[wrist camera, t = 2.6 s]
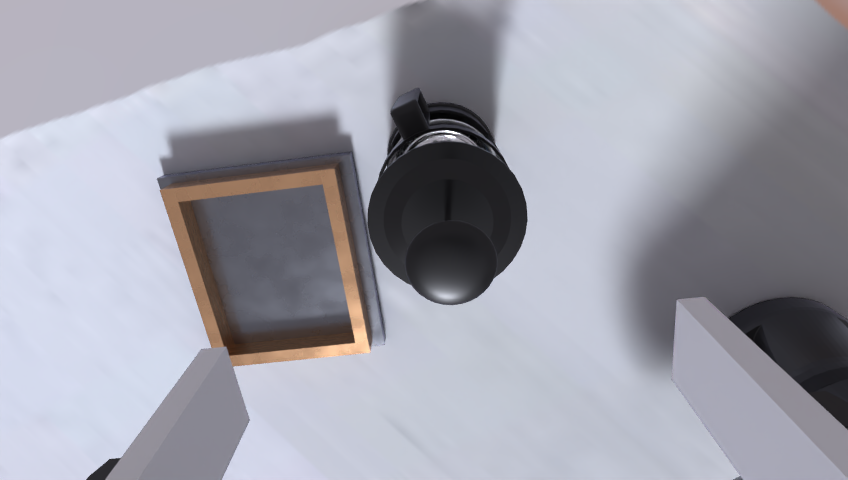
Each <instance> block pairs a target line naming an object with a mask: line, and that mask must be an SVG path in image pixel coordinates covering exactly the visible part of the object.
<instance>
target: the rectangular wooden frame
mask: <svg viewBox="0 0 848 480" xmlns="http://www.w3.org/2000/svg"><path fill="white" fill-rule="evenodd" d="M157 180H158V183H159V186H160V189H161V190H160V192H161V195H162V198H163V201H164V204H165V207H166V210H167V214H168V217H169V220H170V223H171V226H172V229H173V232H174V235H175V238H176V241H177V244H178V247H179V250H180V253H181V256H182V259H183V262H184V265H185V268H186V271H187V274H188V277H189V280H190V283H191V287H192V290H193V293H194V296H195V299H196V302H197V305H198V308H199V311H200V314H201V317H202V320H203V323H204V326H205V329H206V332H207V335H208V338H209V341H210V344H211V347H212V348H218V347H227V350H228V353H229V357H230V360H231V363H232V366H242V365H252V364H262V363H272V362H281V361H291V360H301V359H311V358H321V357H331V356H341V355H351V354H361V353H370V351H371V346H379V345H385V333H384V327H383V322H382V316H381V311H380V305H379V299H378V294H377V288H376V283H375V277H374V272H373V266H372V261H371V255H370V249H369V244H368V238H367V233H366V227H365V222H364V216H363V211H362V205H361V199H360V194H359V188H358V183H357V177H356V172H355V166H354V160H353V155H352V152H346V153H338V154H330V155H322V156H314V157H306V158H298V159H290V160H282V161H274V162H265V163H257V164H249V165H241V166H233V167H225V168H217V169H209V170H201V171H193V172H185V173H177V174H169V175H163V176H161V177H159V178H157Z"/></svg>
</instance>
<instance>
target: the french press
mask: <svg viewBox="0 0 848 480" xmlns="http://www.w3.org/2000/svg"><path fill="white" fill-rule="evenodd" d="M391 116H392V118H393V120H394V122H395V124H396V126H397V127H396V128H395V130H394V132H393V134H392V136H391V139H390V142H389V146H388V152H387V158H386V160H385V162H384V164H383V167H382V169H381V171H380V174H379V178H378V181H377V183H376V186H375V188H374V190H373V192H372V194H371V198H370V203H369V207H368V229H369V234H370V239H371V242H372V244H373V246H374V249H375V251H376V253H377V255H378V256H379V258H380V259H381V261H382V262H383V264H384V265H385V266H386V267H387V268H388V269H389V270H390V271H391V272H392V273H393V274H394V275H396V276H397V277H399V278H400V279H401V280H403V281H404V282H406V283H408V284H410V285H412V286H413V288H414V289H415V290H416V291H417V292H418V293H419V294H420V295H422V296H423V297H425V298H426V299H428V300H430V301H433V302H435V303H439V304H443V305H456V304H462V303H466V302H469V301H471V300H473V299H475V298H477V297H478V296H479V295H481V294H482V293H483V292H484V291H485V290H486V289H487V288H488V287H489V286H490V284H491V282H492V281H493V279H494V278H495V277H496V276H497V275H499V274H500V273H501V272H503V271H504V270H505V268H506V267H507V266H508V265H509V264H510V263H511V262H512V261H513V259H514V257H515V256H516V254H517V252H518V251H519V249H520V247H521V245H522V242H523V239H524V236H525V233H526V226H527V206H526V201H525V197H524V194H523V191H522V188H521V186H520V184H519V183H518V181H517V179H516V177H515V175H514V174H513V173H512V172H511V170H510V169H509V167H508V165H507V164H506V162H505V160H504V158H503V156H502V155H501V153H500V151H499V150H498V148H497V147H496V145H495V143H494V141H493V137H492V135H491V133H490V131H489V129H488V127H487V126H486V125H485V123H484V122H483V121H482V120H481V119H480V117H478V116H477V115H476V114H475V113H473V112H472V111H471V110H469V109H467V108H465V107H463V106H460V105H456V104H452V103H442V102H439V103H432V104H426V101H425V99H424V97H423V95H422V92H421V90H420V89H419V88H416V89H414V90H412V91H410V92H408V93H406V94H404V95H402V96H400V97H399V98H398V99H397V101H396V103H395V104H394V106H393V108H392V109H391ZM435 119H437V120H435ZM386 166H387V169H386V170H385V168H386ZM384 170H385V171H384ZM383 172H384V173H383Z"/></svg>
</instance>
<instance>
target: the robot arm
mask: <svg viewBox="0 0 848 480" xmlns="http://www.w3.org/2000/svg"><path fill="white" fill-rule="evenodd" d="M672 381H673V382H674V384H675V385H676V386H677V388H678V389H679V391H680V392H681V393H682V395H683V396H684V398H685V399H686V400H687V402H688V403H689V405H690V406H691V407H692V409H693V410H694V412H695V413H696V415H697V416H698V417H699V419H700V420H701V422H702V423H703V424H704V426H705V427H706V429H707V430H708V431H709V433H710V434H711V436H712V437H713V438H714V440H715V441H716V443H717V444H718V445H719V447H720V448H721V450H722V451H723V452H724V454H725V455H726V457H727V458H728V459H729V461H730V462H731V464H732V465H733V466H734V468H735V469H736V471H737V472H738V473H739V475H740V476H739V477H737V478H735V479H733V480H848V320H847V319H846V318H844V317H843V316H841V315H840V314H838V313H837V312H835V311H834V310H833V309H831V308H829V307H828V306H826V305H824V304H822V303H819V302H816V301H813V300H809V299H803V298H780V299H774V300H769V301H765V302H762V303H759V304H756V305H754V306H751V307H749V308H747V309H745V310H743V311H741V312H739V313H738V314H736V315H734V316H733V317H731V318H730V319H728V318H727V317H726V316H725V315H724V314H723V313H722V312H721V311H719V310H718V309H717V308H716V307H715V306H714V305H713V304H712V303H711V302H710V301H709V300H708V299H707V298H706V297H695V298H685V299H677V303H676V318H675V334H674V349H673V364H672ZM249 421H250V419H249V416H248V413H247V410H246V407H245V404H244V400H243V397H242V394H241V391H240V388H239V385H238V382H237V379H236V375H235V372H234V369H233V366H232V363H231V360H230V357H229V353H228V350H227V347H218V348H208V349H201V350H200V352H199V353H198V354H197V356H196V357H195V359H194V360H193V361H192V363H191V364H190V365H189V367H188V368H187V369H186V371H185V372H184V373H183V375H182V376H181V378H180V379H179V380H178V382H177V383H176V384H175V386H174V387H173V388H172V390H171V391H170V392H169V394H168V395H167V396H166V398H165V399H164V401H163V402H162V403H161V405H160V406H159V407H158V409H157V410H156V411H155V413H154V414H153V415H152V417H151V418H150V420H149V421H148V422H147V424H146V425H145V426H144V428H143V429H142V430H141V432H140V433H139V434H138V436H137V437H136V438H135V440H134V441H133V443H132V444H131V445H130V447H129V448H128V449H127V451H126V452H125V453H124V455H123V456H122V457H121V458H116V459H109V460H108V461H107V462H106V463H105V464H103V465H102V466H101V467H100V468H99V469H97V470H96V471H95V472H94V473H93V474H91V475H90V476H89V477H88V478H87V479H86V480H222V478H223V475H224V473H225V471H226V469H227V467H228V465H229V463H230V461H231V459H232V456H233V454H234V452H235V450H236V448H237V446H238V444H239V442H240V440H241V437H242V435H243V433H244V431H245V429H246V427H247V425H248V423H249Z"/></svg>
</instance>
